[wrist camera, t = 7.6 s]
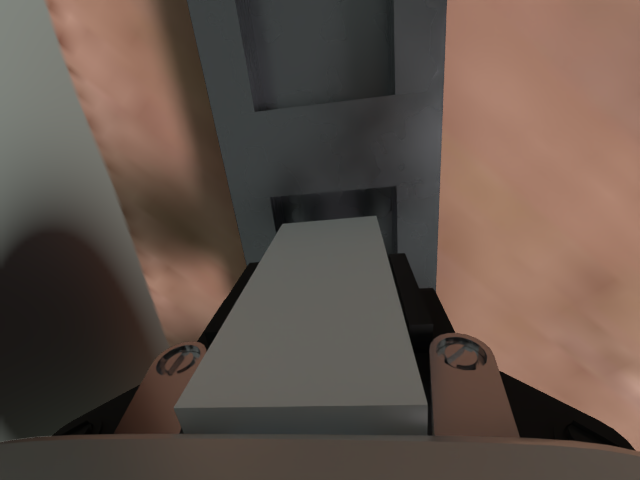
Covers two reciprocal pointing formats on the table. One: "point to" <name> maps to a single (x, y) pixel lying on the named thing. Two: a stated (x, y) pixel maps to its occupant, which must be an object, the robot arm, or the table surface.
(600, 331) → the table surface
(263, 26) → the panel
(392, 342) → the plug
